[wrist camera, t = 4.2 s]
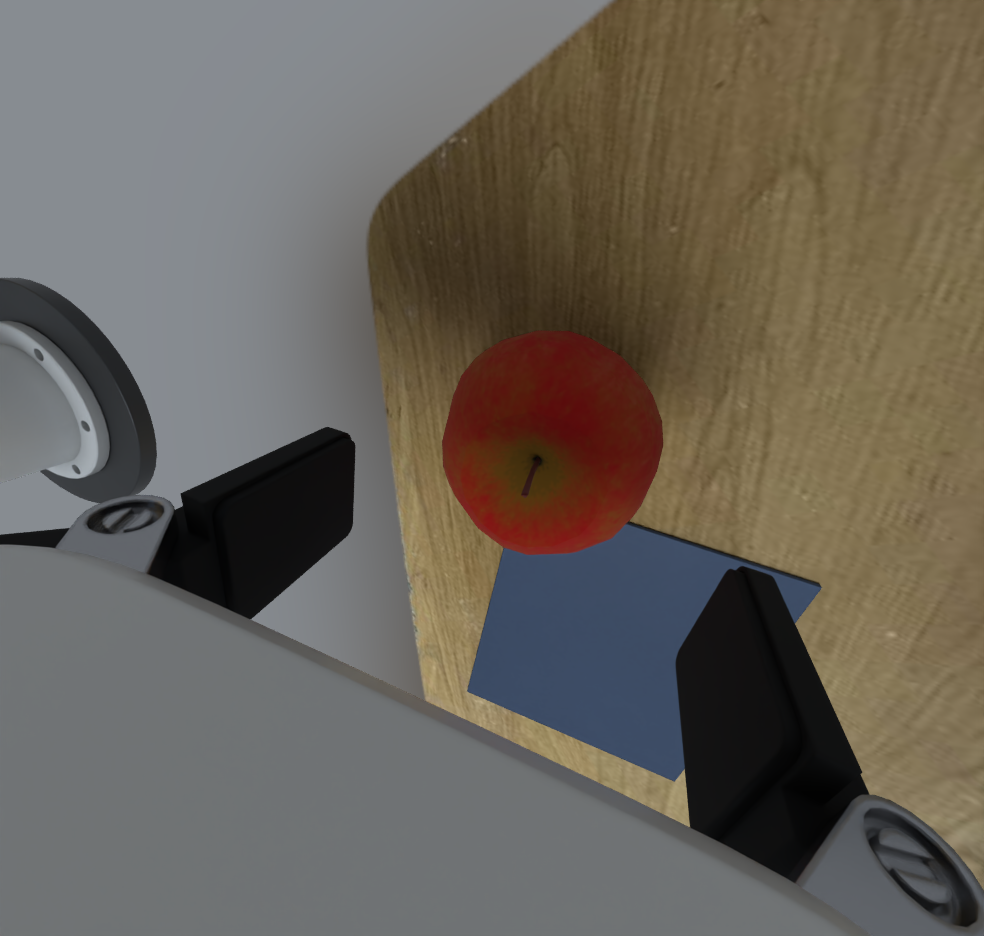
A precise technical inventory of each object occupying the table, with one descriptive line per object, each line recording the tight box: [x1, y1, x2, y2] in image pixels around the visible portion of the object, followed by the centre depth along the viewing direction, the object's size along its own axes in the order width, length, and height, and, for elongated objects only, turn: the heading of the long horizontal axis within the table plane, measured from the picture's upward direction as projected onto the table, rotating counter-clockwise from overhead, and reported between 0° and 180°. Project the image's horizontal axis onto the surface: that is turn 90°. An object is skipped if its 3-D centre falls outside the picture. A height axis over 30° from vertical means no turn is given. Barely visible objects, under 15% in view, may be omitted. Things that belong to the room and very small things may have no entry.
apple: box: [442, 331, 663, 555], centre depth 17 cm, size 9×8×11 cm
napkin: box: [467, 522, 822, 781], centre depth 28 cm, size 17×20×1 cm
